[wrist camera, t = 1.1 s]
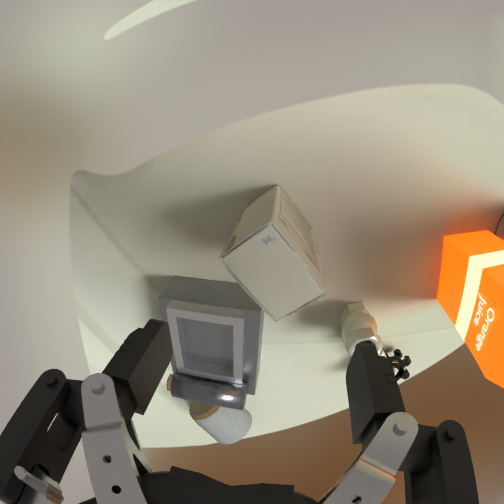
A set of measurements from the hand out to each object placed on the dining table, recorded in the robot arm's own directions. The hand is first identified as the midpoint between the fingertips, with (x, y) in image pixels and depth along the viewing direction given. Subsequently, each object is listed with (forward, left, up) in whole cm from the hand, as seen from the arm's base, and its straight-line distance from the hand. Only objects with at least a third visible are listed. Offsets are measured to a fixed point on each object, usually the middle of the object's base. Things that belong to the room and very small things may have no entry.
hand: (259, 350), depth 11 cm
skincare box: (0, 0, -19) cm, 19 cm away
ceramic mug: (+7, +32, -19) cm, 38 cm away
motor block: (+6, +15, -19) cm, 25 cm away
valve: (-13, +14, -19) cm, 27 cm away
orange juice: (-24, +3, -19) cm, 31 cm away
